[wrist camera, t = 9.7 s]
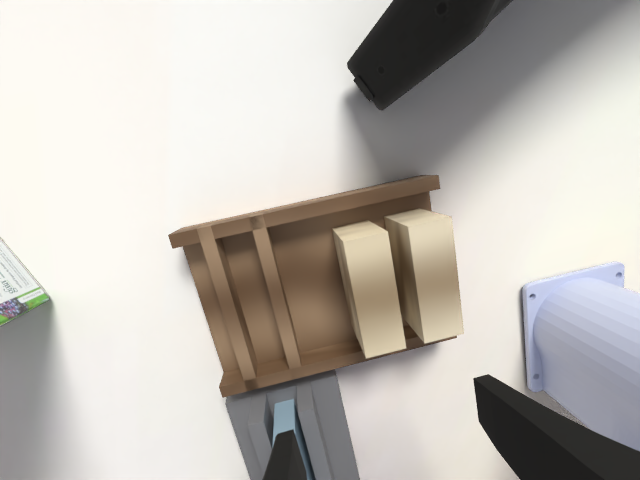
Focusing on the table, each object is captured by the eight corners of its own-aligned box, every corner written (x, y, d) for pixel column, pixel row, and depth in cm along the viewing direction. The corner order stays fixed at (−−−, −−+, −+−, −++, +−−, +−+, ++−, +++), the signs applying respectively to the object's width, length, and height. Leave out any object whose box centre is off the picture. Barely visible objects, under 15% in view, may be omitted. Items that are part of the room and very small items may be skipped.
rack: (440, 321, 23) (456, 337, 20) (229, 374, 22) (222, 397, 19) (421, 175, 20) (438, 175, 18) (181, 228, 19) (168, 235, 17)
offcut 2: (431, 304, 21) (464, 333, 17) (399, 312, 21) (424, 343, 17) (419, 208, 20) (451, 216, 16) (384, 216, 20) (408, 226, 16)
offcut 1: (384, 316, 21) (406, 348, 17) (351, 324, 21) (365, 358, 17) (367, 219, 20) (387, 231, 16) (331, 228, 19) (343, 241, 15)
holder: (357, 470, 25) (368, 517, 21) (261, 496, 24) (257, 549, 21) (334, 366, 22) (342, 400, 19) (227, 393, 22) (217, 433, 19)
